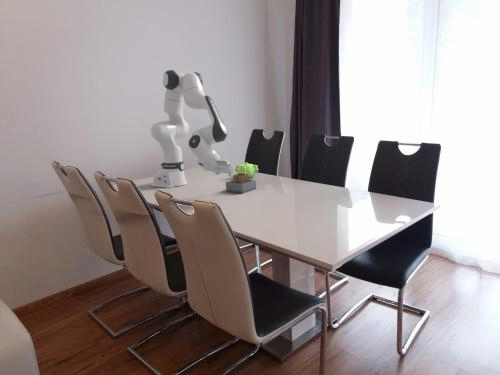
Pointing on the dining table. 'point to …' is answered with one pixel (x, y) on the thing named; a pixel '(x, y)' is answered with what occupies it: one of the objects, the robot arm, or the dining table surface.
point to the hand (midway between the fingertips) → (225, 174)
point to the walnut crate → (240, 178)
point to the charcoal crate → (241, 186)
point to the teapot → (247, 169)
